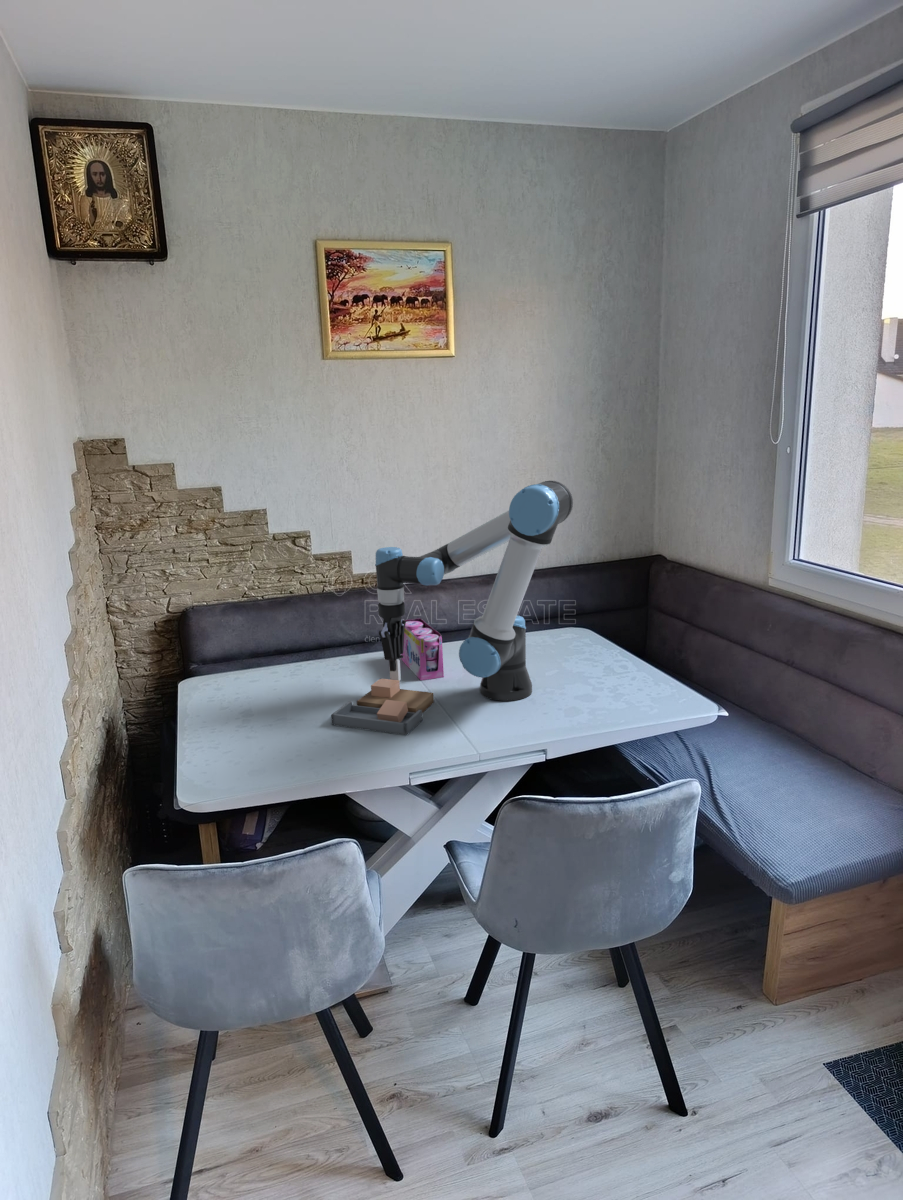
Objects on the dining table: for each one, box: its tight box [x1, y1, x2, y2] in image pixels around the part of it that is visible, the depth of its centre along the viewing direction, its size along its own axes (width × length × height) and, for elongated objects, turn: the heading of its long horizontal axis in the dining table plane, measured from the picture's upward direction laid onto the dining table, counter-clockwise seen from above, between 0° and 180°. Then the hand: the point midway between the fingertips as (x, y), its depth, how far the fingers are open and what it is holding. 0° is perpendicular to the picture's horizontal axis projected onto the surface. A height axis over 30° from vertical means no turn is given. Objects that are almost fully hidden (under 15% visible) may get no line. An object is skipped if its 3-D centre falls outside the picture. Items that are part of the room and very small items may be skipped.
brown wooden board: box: [356, 688, 435, 714], centre depth 216 cm, size 18×12×3 cm, turn 68°
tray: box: [330, 700, 423, 736], centre depth 205 cm, size 22×10×3 cm, turn 68°
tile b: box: [370, 678, 401, 698], centre depth 218 cm, size 6×6×3 cm
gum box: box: [400, 617, 445, 681], centre depth 245 cm, size 24×8×14 cm, turn 19°
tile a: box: [377, 700, 408, 722], centre depth 205 cm, size 6×6×3 cm
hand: (395, 680), depth 224 cm, fingers closed
